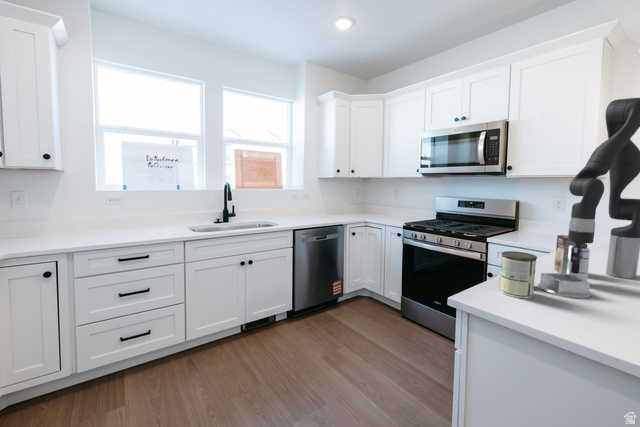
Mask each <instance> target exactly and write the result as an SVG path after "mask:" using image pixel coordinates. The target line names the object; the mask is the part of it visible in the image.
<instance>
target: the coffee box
mask: <svg viewBox="0 0 640 427" xmlns="http://www.w3.org/2000/svg"><path fill="white" fill-rule="evenodd" d="M574 244H575V242H571V241H569V240H568V235H563V234H562V235H561V234H558V235H557V239H556V244H555V245H556V247H555V256H554V266H553V267H554V268H553V269H554V270H555V271H556V272H558V273H560V274H567V263H568V252H569V246H574Z"/></svg>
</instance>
